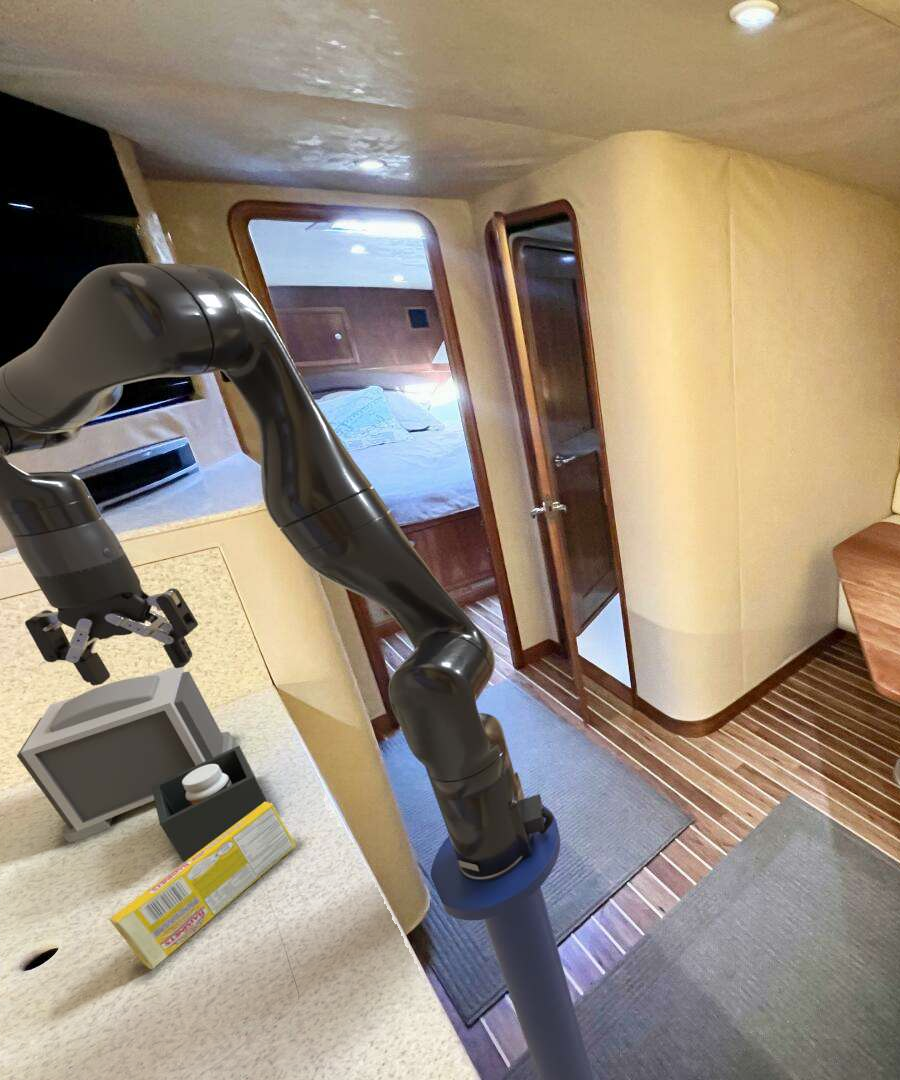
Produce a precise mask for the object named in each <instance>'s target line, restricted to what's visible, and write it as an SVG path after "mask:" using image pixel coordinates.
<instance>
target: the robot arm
mask: <svg viewBox="0 0 900 1080" xmlns="http://www.w3.org/2000/svg"><path fill="white" fill-rule="evenodd" d="M218 372H222V373H223V374H224V375H225V376H226V377H227V378H228V379H229V381H230V383H232V385H233V386H234V387H235V389H236V391H237V392H238V394H239V395H240V397H241V398H242V400H243V401H244V403H245V404H246V406H247V408H248V410H249V411H250V413H251V415H252V418H253V420H254V422H255V425H256V428H257V432H258V433H257V434H258V438H259V446H260V447H259V448H260V473H261V478H260V479H261V487H262V488H261V489H262V495H263V496H262V497H263V503H264V506H265V508H266V511H267V513H268V515H269V518H270V519H271V520H272V522H273V523H274V525H275V526H276V527H277V528H278V529H279V532H281V533H282V535H283V537H284V538H286V541H287V542H289V544H290V545H291V546H292V548H293V549H294V550H295V551H296V553H297V554H298V555H299V557H300V558H301V559H302V560H303V561H304V563H305V564H306V565H307V566H308V567H309V568H310V569H311V570H313V572H315V573H317V574H318V575H320V576H321V577H322V578H324V579H326V580H328V581H330V582H332V583H333V584H335V585H338V586H339V587H341V588H343V589H345V590H348V591H350V592H352V593H355V594H356V595H359V596H361V597H363V598H365V599H367V600H368V601H371V602H372V603H375V604H376V605H378V606H379V607H380V608H381V609H383V610H384V611H385V612H386V613H388V614H389V615H390V617H392V618H393V620H394V621H395V622H396V623H397V625H398V626H399V627H400V628H401V630H402V631H403V633H404V634H405V635H406V636H407V638H408V639H409V641H410V643H411V645H412V646H413V648H414V650H413V651H412V652H411V653H410V654H409V655H408V656H407V657H406V658H405V659H404V660H403V662H401V664H400V665H399V666H398V667H397V668H396V669H395V671H394V672H393V674H392V675H391V677H390V679H389V683H388V698H389V702H390V703H389V704H390V706H391V710H392V713H393V714H394V716H395V719H396V721H397V723H398V725H399V727H400V730H401V733H402V734H403V737H404V739H405V742H406V744H407V745H408V748H409V750H410V752H411V753H412V754H413V756H414V757H415V758H416V759H417V760H418V761H419V762H420V763H421V764H422V765H423V766H424V768H425V771H426V774H427V776H428V779H429V782H430V785H431V788H432V790H433V794H434V795H435V796H434V797H435V800H436V802H437V805H438V808H439V810H440V814H441V817H442V819H443V822H444V825H445V828H446V830H447V833H448V836H450V839H451V842H452V845H453V848H454V850H455V853H456V856H457V860H458V864H459V867H460V870H461V872H462V874H463V875H464V876H465V877H466V878H467V879H469V880H472V881H476V882H486V881H491V880H494V879H497V878H500V877H502V876H504V875H506V874H507V873H509V872H510V871H512V870H513V869H514V868H515V867H517V866H518V865H519V864H520V863H521V861H522V860H524V859H526V858H528V857H531V856H532V833H536V832H540V833H541V834H544V833H545V832H546V830H547V829H548V828H549V827H550V826H551V824H552V822H553V815H554V814H553V812H552V811H551V810H550V811H551V812H552V813H551V812H550V811H548V810H546V809H545V808H543V805H544V804H543V801H542V797H541V794H540V793H538V794H535V795H532V796H529V797H525V794H524V790H523V787H522V783H521V779H520V776H519V773H518V772H517V771H514V766H513V763H512V760H511V755H510V752H509V748H508V744H507V740H506V736H505V732H504V729H503V726H502V724H501V722H500V721H499V719H498V718H496V716H494V715H492V714H489V713H485V712H479V709H478V707H477V706H478V705H477V701H478V699H479V698H480V696H481V694H482V693H483V691H484V690H485V688H486V686H487V685H488V684H489V682H490V680H491V678H492V676H493V675H494V671H495V668H496V657H495V653H494V650H493V647H492V646H491V644H490V642H489V641H488V639H487V638H486V636H485V635H484V633H482V631H481V630H480V629H479V627H478V626H477V625H476V624H475V623H474V622H473V621H472V619H471V618H470V617H469V616H468V614H466V612H465V611H464V610H463V609H462V608H461V607H460V605H458V603H457V602H456V601H455V599H453V597H452V596H451V595H450V594H449V593H448V592H447V590H446V589H445V588H444V587H443V586H442V584H441V583H440V582H439V579H437V577H436V576H435V575H434V574H433V572H432V571H431V569H430V568H429V566H428V564H426V562H425V561H424V559H423V558H422V556H421V555H420V554H419V553H418V551H417V550H416V548H415V546H413V544H412V543H411V541H410V540H409V539H408V537H407V535H406V534H405V532H404V531H403V530H402V528H401V527H400V525H399V524H398V522H397V520H396V519H395V517H394V515H393V514H392V512H391V511H390V509H389V508H388V507H387V504H386V503H385V501H384V500H383V499H382V498H381V496H380V494H379V493H378V492H377V490H376V488H375V487H374V486H373V484H372V483H371V482H370V481H369V479H368V478H367V476H366V475H365V474H364V473H363V471H362V470H361V469H360V467H359V466H358V465H357V463H356V462H355V460H354V459H353V457H352V455H351V454H350V453H349V451H348V450H347V448H346V447H345V445H344V444H343V442H342V441H341V439H340V437H339V436H338V435H337V433H336V431H335V429H334V428H333V427H332V425H331V423H330V422H329V420H328V419H327V418H326V416H325V414H324V413H323V411H322V410H321V408H320V406H319V404H318V403H317V402H316V399H315V398H314V396H313V394H312V393H311V391H310V389H309V388H308V386H307V384H306V382H305V381H304V378H303V377H302V374H300V372H299V369H298V368H297V366H296V364H295V362H294V360H293V359H292V357H291V355H290V353H289V352H288V350H287V348H286V346H285V344H284V343H283V341H282V339H281V337H280V336H279V333H278V332H277V330H276V328H275V327H274V325H273V323H272V321H271V319H270V318H269V317H268V315H267V314H266V312H265V310H264V309H263V307H262V306H261V304H260V303H259V302H258V300H257V299H256V297H254V295H253V294H252V293H251V292H250V291H249V289H248V288H247V287H246V286H245V285H244V284H243V283H242V282H241V281H240V280H238V279H237V278H236V277H234V276H233V275H232V274H231V273H229V272H227V271H226V270H223V269H222V268H219V267H218V266H217V267H216V266H213V265H209V264H200V263H199V264H198V263H159V262H158V263H151V262H150V263H149V262H148V263H147V262H146V263H145V262H144V263H143V262H142V263H141V262H140V263H139V262H125V263H114V264H108V265H103V266H101V267H98V268H95V269H94V270H92V271H91V272H89V273H87V275H85V276H84V277H83V278H82V279H81V280H80V281H79V282H78V283H77V285H76V286H75V287H74V288H73V289H72V290H71V292H70V293H69V295H68V297H67V298H66V300H65V301H64V303H63V304H62V306H61V308H60V309H59V311H58V312H57V313H56V315H55V316H54V318H52V320H51V321H50V323H49V324H48V326H47V327H46V329H45V330H44V332H42V335H41V336H40V338H39V339H38V341H37V342H36V343H35V344H33V346H32V347H30V348H28V349H27V350H26V351H25V352H22V353H21V354H19V355H18V356H16V357H15V358H12V359H11V360H10V361H8V362H7V363H5V364H4V365H2V366H1V367H0V519H1V520H2V522H3V524H4V525H5V527H6V529H7V530H8V532H9V533H10V535H11V537H12V538H13V541H14V543H15V546H16V549H17V552H18V554H19V556H20V557H21V560H22V561H23V563H24V564H25V566H26V567H27V569H28V571H29V572H30V574H31V575H32V577H33V579H34V580H35V582H36V584H37V586H38V587H39V589H40V590H41V592H42V593H43V595H44V597H45V598H46V600H47V601H48V604H49V605H50V606H51V607H53V608H54V609H57V611H53V610H49V609H44V610H43V611H41V612H39V613H37V614H35V615H34V616H31V617H30V618H28V619H26V620H25V622H24V625H25V627H26V628H27V630H28V632H29V634H30V636H31V637H32V639H33V642H34V643H35V645H36V647H37V649H38V650H39V652H40V655H41V656H42V658H43V660H44V661H46V662H47V663H55V662H57V661H65V662H66V661H67V662H68V663H71V664H73V665H74V667H75V669H76V670H77V672H78V673H79V675H80V676H81V678H82V680H83V681H84V682H86V683H87V684H88V683H89V684H90V685H91V686H92V687H94V686H101V685H104V683H105V682H106V681H108V680H109V679H110V677H111V673H110V672H109V670H108V668H107V666H106V665H105V663H104V662H103V660H102V658H101V656H100V655H99V653H98V652H93V650H94V648H95V645H96V644H97V641H98V640H100V641H101V640H106V639H107V640H108V639H109V638H112V637H114V636H128V635H131V634H133V633H134V634H136V635H138V636H140V637H144V638H152V639H154V640H155V641H158V642H160V643H162V644H163V645H162V647H163V649H164V651H165V653H166V654H167V656H168V658H169V660H170V662H171V664H172V665H173V667H175V668H180V667H182V668H184V667H186V665H187V664H188V663H189V662H190V661H191V659H192V658H193V651H192V649H191V647H190V646H189V643H188V642H187V640H186V638H185V637H187V636H188V635H189V634H190V633H192V632H193V631H194V630H195V629H196V628H197V627H198V626H199V622H198V620H197V619H196V618H195V615H194V614H193V612H192V610H191V608H190V607H189V606H188V604H187V602H186V601H185V599H184V597H183V595H182V594H181V592H180V591H179V589H177V588H174V587H173V588H169V589H167V590H166V591H165V592H162V593H157V594H153V595H149V594H148V593H146V592H145V591H144V589H142V586H141V580H140V578H139V576H138V574H137V572H136V570H135V568H134V567H133V565H132V563H131V561H130V559H129V558H128V555H127V553H126V552H125V550H124V548H123V546H122V544H121V543H120V541H119V539H118V537H117V535H116V533H115V532H114V531H113V529H112V527H111V526H110V525H109V523H107V522H106V520H105V518H104V517H103V515H102V513H101V511H100V509H99V508H98V506H97V504H96V502H95V499H94V498H93V497H92V495H91V493H90V491H89V489H88V487H87V486H86V483H85V482H84V481H83V479H82V478H81V477H80V476H79V475H77V474H75V473H72V472H69V471H61V470H60V471H58V470H57V471H38V472H36V471H35V472H27V471H24V470H22V469H20V468H18V467H17V466H15V465H14V464H13V463H11V462H10V461H8V459H7V458H6V457H10V456H16V455H21V454H27V453H34V452H39V451H45V450H50V449H51V450H52V449H55V448H59V447H63V446H65V445H67V444H70V443H73V442H74V441H76V439H78V437H79V435H80V433H81V431H82V428H83V427H84V425H85V424H87V423H89V422H91V421H93V420H94V419H96V418H99V417H100V416H102V415H104V414H105V413H107V412H108V411H110V410H111V409H112V408H113V407H114V406H115V405H116V404H117V403H118V402H119V401H120V399H121V397H122V394H123V390H124V385H128V384H132V383H137V382H143V381H146V380H152V379H158V378H185V377H193V376H199V375H206V374H212V373H218ZM152 607H155V608H156V610H157V611H159V612H162V613H163V615H162V614H160V613H158V612H156V611H154V610H151V609H152ZM146 622H147V623H148V622H149V623H150V624H145V623H146ZM63 625H65V626H67V627H69V628H71V629H72V630H73V629H74V632H73V635H72V637H71V639H70V641H69V639H68V637H67V635H66V633H65V631H64V629H63V627H62V626H63ZM552 814H553V815H552ZM544 818H546V821H545V822H544Z"/></svg>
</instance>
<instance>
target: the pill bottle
mask: <svg viewBox="0 0 900 1080" xmlns="http://www.w3.org/2000/svg"><path fill="white" fill-rule="evenodd" d="M182 784H183V786H184V788H185V790H186V791H187V792H186V799H187V801H188V802H189V804H190V806H191V805H193V804H195V803H197V802H199V801H201V800H203V799H205V798H207V797H209V796H211V795H213V794H215V793H217V792H219V791H221V790H223V789H225V788H227V787H229V786H231V785H232V783H231V781H230V779H229V777H228V775H226V774H224V773H222V771H221V769H220V767H219V766H218V765H217V764H208V765H205V766H202V767H199V768H197V769H195V770H193V771H192V772H190V773H189V774H188V775H186V776H185V778H184V779H183V780H182Z"/></svg>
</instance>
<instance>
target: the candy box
mask: <svg viewBox="0 0 900 1080" xmlns="http://www.w3.org/2000/svg"><path fill="white" fill-rule="evenodd" d="M296 848H297V845H296V842H295V841H294V839H293V837H292V836H291V834H290V833H289V831H288V830H287V827H286V826H285V824H284V822H283V821H282V819H281V817H280V815H279V813H278V812H277V810H276V808H275V805H274V804H273V803H272V802H268V801H267V802H264V803H262V804H261V805H260V806H258V807H257V808H256V809H254V810H253V811H252V812H250V813H249V814H248V815H246V816H245V817H244V818H242V819H241V820H240V821H238V822H237V823H236V824H234V825H233V826H232V827H230V828H229V829H228V830H226V831H225V832H224V833H223V834H221V835H220V836H219V837H217V838H216V839H215V840H213V841H212V842H211V843H209V844H208V845H207V846H205V847H204V848H203V849H201V850H200V851H199V852H197V853H196V854H195V855H193V856H192V857H191V858H189V859H188V860H187V861H185V862H183V863H181V864H180V865H178V866H177V867H176V868H175V869H174V870H172V871H170V873H168V874H167V875H164V877H163V878H161V879H160V880H158V881H157V882H156V883H155V884H152V886H151V887H149V888H148V889H146V890H145V891H144V892H143V893H142V894H140V895H138V897H136V898H135V899H133V900H132V901H131V902H129V903H128V904H126V905H125V906H124V907H123V908H121V909H119V911H118V912H116V913H115V914H113V915H111V917H109V918H108V920H109V922H110V923H111V924H112V925H113V927H114V928H115V929H116V931H117V932H118V933H119V934H120V936H121V937H122V938H123V940H124V941H125V942H126V943H127V944H128V945H129V947H130V948H131V950H132V951H133V952H134V954H135V955H136V956H137V958H138V959H139V960H140V962H141V963H142V964H143V965H144V966H145V967H146V968H148V969H150V970H153V969H155V968H156V967H157V966H158V965H159V964H161V963H162V962H164V960H165V959H167V958H168V957H169V956H170V955H171V954H172V953H174V952H175V951H176V950H177V949H178V948H179V947H181V946H182V945H183V944H184V943H185V942H186V941H188V939H190V938H191V937H192V936H193V935H194V934H196V933H198V931H199V930H201V929H202V928H203V927H204V926H205V925H207V924H208V922H210V921H211V920H212V919H214V918H215V916H216V915H218V914H219V913H220V912H221V911H222V910H224V909H225V908H227V906H228V905H229V904H231V903H232V902H233V901H234V900H235V899H237V898H238V897H239V896H240V895H241V894H242V893H244V891H246V890H247V889H248V888H249V887H251V886H252V885H253V884H254V883H255V882H256V881H258V880H259V879H260V878H261V877H262V876H263V875H265V874H266V873H267V872H268V871H269V870H270V869H272V867H274V866H275V865H276V864H278V863H279V861H281V860H282V859H283V858H284V857H286V856H287V855H288V854H289V853H290V852H292V851H293V850H294V849H296Z"/></svg>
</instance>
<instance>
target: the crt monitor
mask: <svg viewBox="0 0 900 1080" xmlns="http://www.w3.org/2000/svg"><path fill="white" fill-rule="evenodd" d="M233 743H234V739H233V736H232V734H231V732H229V731H221V729H220V727H219V726H218V724H217V722H216V720H215V718H214V716H213V714H212V712H211V710H210V708H209V707H208V704H207V703H206V701H205V699H204V696H203V695H202V693H201V691H200V689H199V687H198V685H197V683H196V682H195V680H194V678H193V676H192V673H191V672H190V671H184V667H180V668H175V667H174V666H173V667H170V668H167V669H163V670H160V671H157V672H154V673H150V674H146V675H144V676H138V677H132V678H125V679H121V680H117V681H113V682H110V683H107V684H102V685H99V686H98V687H95V688H92V689H91V690H88V691H85V692H84V693H81V694H79V695H77V696H74V697H71V698H68V699H64V700H61V701H57V702H55V703H51V704H49V705H48V707H47V708H46V710H45V712H44V714H43V715H42V716H41V717H40V718H39V719H38V721H37V723H36V724H35V726H34V727H33V729H32V731H31V732H30V734H29V735H28V737H27V738H26V740H25V741H24V743H23V745H22V746H21V748H20V750H19V751H18V752H17V754H16V757H17V759H18V760H19V761H20V763H21V764H22V765H23V767H24V769H26V771H27V773H28V774H29V775H30V777H31V778H32V779H33V781H34V782H35V783H36V785H37V786H38V787H39V789H40V790H41V792H42V793H43V794H44V796H45V797H46V799H47V801H49V803H50V804H51V805H52V807H53V809H54V810H55V811H56V812H57V814H58V815H59V817H60V818H61V819H62V821H63V822H64V823H65V824H64V826H63V829H62V831H61V835H62V836H63V838H64V839H65V840H66V842H68V843H69V844H70V843H71V844H72V843H76V842H79V841H82V840H83V839H86V838H89V837H91V836H93V835H96V834H98V833H101V832H103V831H105V830H108V829H110V827H111V824H112V822H113V818H114V817H116V816H119V815H122V814H124V813H126V812H128V811H131V810H134V809H136V808H138V807H141V806H144V805H146V804H149V803H152V802H153V801H154V802H155V800H154V796H153V791H152V786H153V785H155V784H157V783H160V782H162V781H164V780H166V779H168V778H170V777H172V776H175V775H177V774H179V773H181V772H183V771H185V770H187V769H190V768H192V767H194V766H196V765H198V764H200V763H203V762H205V761H207V760H209V759H211V758H213V757H215V756H218V755H220V754H222V753H224V752H226V751H228V750H230V749H233V747H234V746H233Z"/></svg>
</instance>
